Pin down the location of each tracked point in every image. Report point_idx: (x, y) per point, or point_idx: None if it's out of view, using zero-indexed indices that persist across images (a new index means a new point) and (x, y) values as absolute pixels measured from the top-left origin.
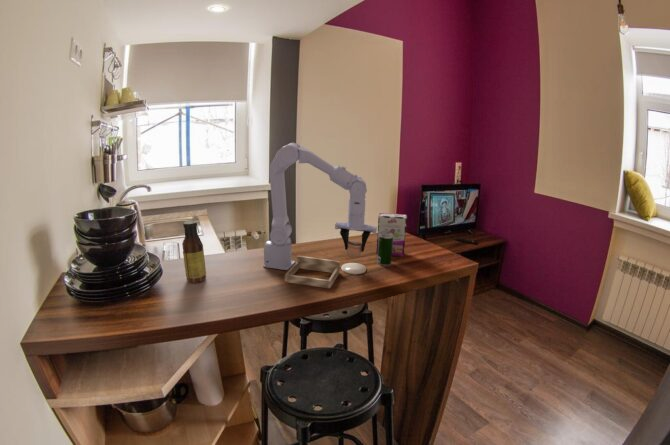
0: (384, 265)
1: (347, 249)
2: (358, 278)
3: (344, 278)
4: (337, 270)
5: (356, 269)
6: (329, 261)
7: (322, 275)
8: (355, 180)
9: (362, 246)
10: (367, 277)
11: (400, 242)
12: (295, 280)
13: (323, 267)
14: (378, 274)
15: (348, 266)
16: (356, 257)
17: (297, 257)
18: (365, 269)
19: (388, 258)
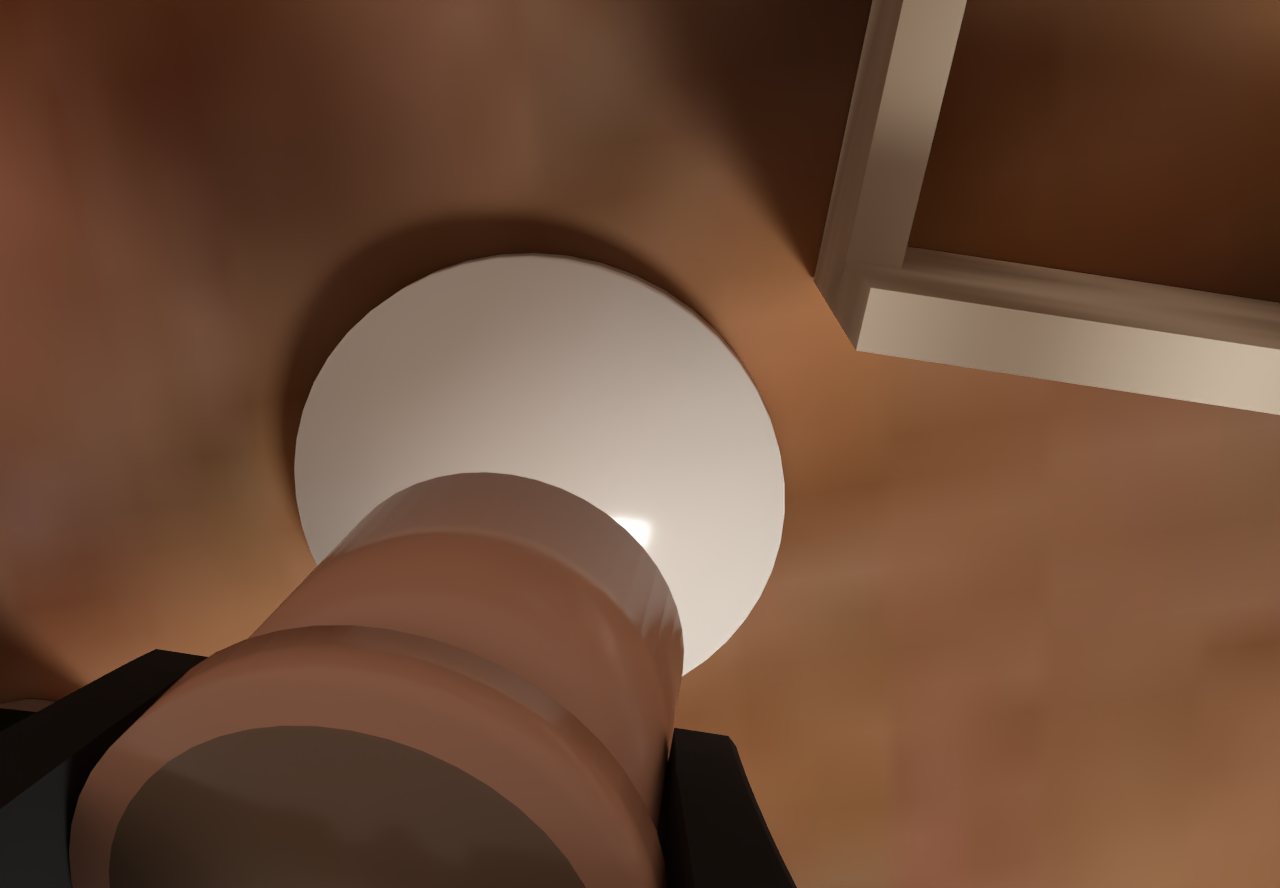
0: (24, 701)
1: (657, 715)
2: (392, 76)
3: (687, 16)
4: (876, 102)
5: (472, 436)
6: (1143, 326)
7: (1186, 83)
8: None
9: (35, 751)
10: (222, 163)
11: None
12: None
13: (1205, 303)
14: (49, 342)
15: (642, 546)
16: (389, 497)
17: None
18: (299, 461)
19: None
